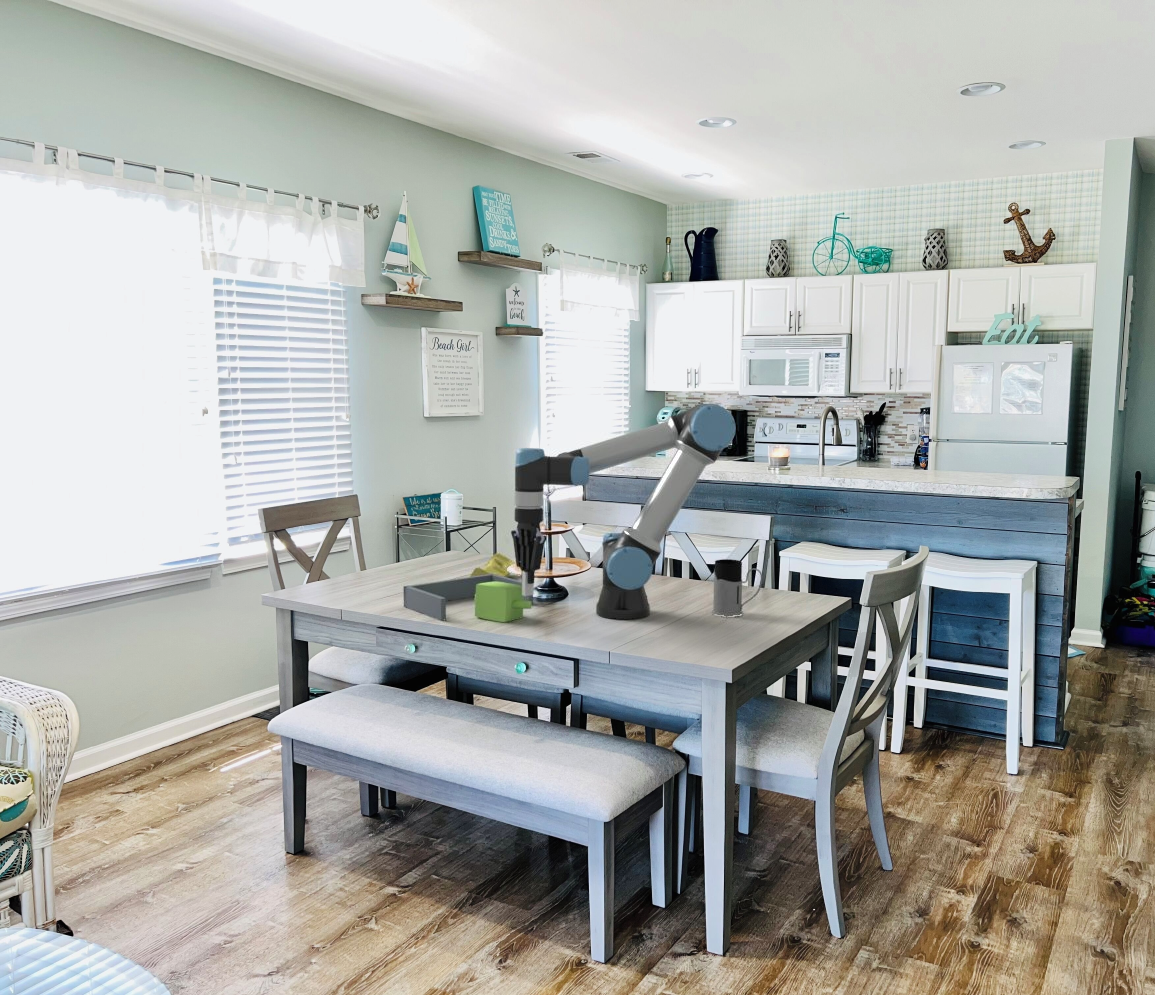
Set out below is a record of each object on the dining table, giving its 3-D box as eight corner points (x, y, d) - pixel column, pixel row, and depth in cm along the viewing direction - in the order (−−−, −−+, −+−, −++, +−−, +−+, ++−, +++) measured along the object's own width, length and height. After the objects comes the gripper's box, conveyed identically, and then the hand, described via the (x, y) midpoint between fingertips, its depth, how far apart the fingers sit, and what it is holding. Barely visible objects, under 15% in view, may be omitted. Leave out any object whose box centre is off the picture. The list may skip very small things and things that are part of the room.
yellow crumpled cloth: (500, 579, 301) (473, 564, 303) (491, 598, 303) (464, 584, 305) (519, 564, 320) (493, 550, 322) (510, 582, 322) (485, 568, 324)
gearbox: (540, 620, 259) (541, 586, 259) (518, 626, 251) (520, 591, 250) (488, 610, 269) (490, 577, 268) (466, 615, 261) (467, 581, 260)
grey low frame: (532, 604, 276) (532, 584, 275) (441, 620, 256) (440, 598, 256) (492, 592, 292) (492, 573, 291) (403, 606, 272) (403, 586, 272)
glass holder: (717, 609, 271) (718, 557, 269) (765, 614, 265) (767, 562, 263) (707, 615, 263) (708, 562, 262) (756, 621, 257) (757, 567, 255)
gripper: (555, 508, 245) (553, 597, 247) (526, 503, 255) (524, 589, 257) (532, 510, 240) (530, 601, 243) (503, 505, 250) (502, 592, 253)
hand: (527, 594), depth 250 cm, fingers closed
